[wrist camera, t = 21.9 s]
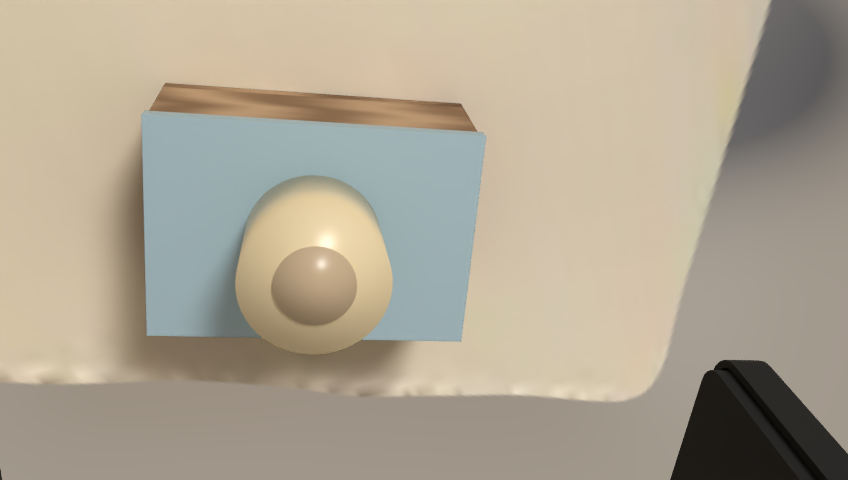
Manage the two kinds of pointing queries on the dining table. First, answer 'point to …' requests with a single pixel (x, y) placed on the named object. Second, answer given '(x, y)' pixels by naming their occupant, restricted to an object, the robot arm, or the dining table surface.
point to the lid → (288, 158)
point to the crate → (311, 107)
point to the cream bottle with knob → (313, 266)
